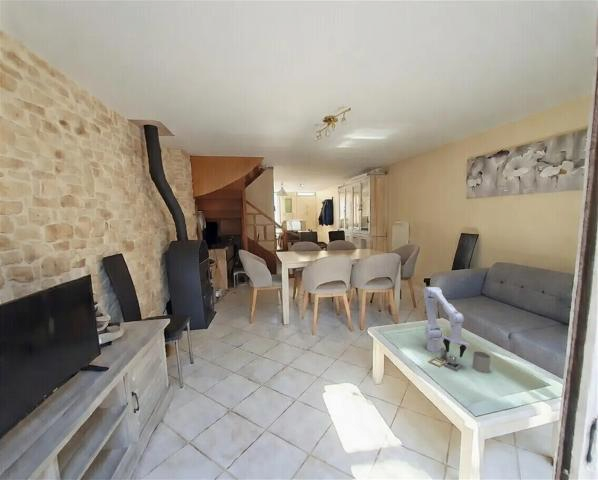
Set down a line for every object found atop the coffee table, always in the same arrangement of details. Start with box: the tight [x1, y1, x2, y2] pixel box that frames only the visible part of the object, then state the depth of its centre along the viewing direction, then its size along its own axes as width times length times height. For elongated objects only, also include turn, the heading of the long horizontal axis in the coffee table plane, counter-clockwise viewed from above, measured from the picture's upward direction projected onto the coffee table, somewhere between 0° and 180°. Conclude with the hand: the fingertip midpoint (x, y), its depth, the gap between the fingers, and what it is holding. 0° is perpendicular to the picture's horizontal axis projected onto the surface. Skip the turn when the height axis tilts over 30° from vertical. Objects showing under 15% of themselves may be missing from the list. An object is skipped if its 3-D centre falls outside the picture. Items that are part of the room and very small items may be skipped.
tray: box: [427, 356, 448, 368], centre depth 163 cm, size 10×7×2 cm
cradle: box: [443, 360, 464, 372], centre depth 159 cm, size 10×7×3 cm
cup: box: [472, 350, 491, 374], centre depth 157 cm, size 8×8×10 cm
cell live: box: [449, 355, 457, 368], centre depth 158 cm, size 3×3×6 cm
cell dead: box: [440, 347, 448, 361], centre depth 169 cm, size 3×3×6 cm
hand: (454, 354), depth 161 cm, fingers open, 7 cm apart
